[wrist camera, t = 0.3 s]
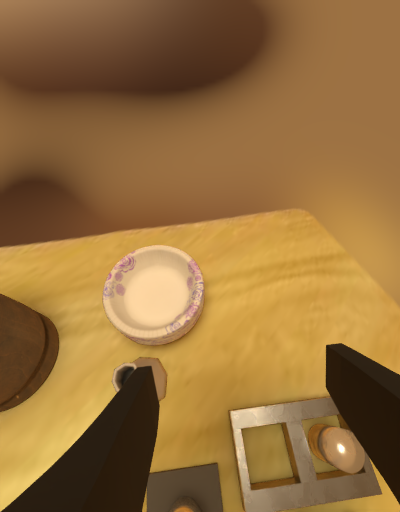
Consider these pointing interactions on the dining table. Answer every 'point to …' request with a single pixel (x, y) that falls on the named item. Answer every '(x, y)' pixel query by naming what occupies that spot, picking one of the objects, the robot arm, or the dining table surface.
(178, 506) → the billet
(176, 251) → the paper bowls
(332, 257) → the dining table surface
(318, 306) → the dining table surface
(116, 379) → the flask
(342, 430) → the light bulb
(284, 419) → the grey flat rectangular frame
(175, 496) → the rubber mat
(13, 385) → the wooden container
